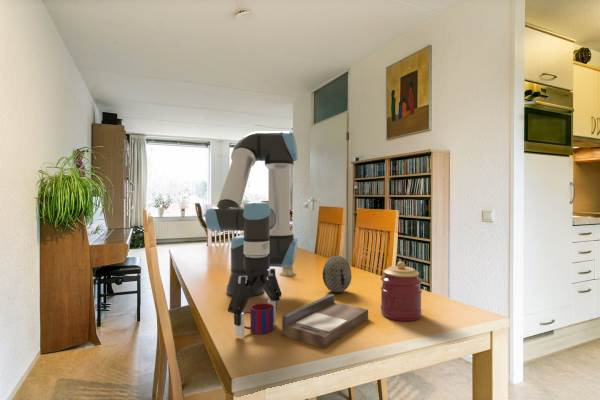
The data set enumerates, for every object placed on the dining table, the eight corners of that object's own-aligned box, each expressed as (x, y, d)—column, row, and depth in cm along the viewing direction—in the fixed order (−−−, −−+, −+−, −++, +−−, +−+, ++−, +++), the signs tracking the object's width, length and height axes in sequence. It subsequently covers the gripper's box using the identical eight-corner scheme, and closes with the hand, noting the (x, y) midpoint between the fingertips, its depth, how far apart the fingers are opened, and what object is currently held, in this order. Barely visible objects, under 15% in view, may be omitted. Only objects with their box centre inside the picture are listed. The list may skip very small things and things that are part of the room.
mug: (277, 331, 97) (277, 308, 97) (243, 338, 93) (243, 313, 93) (268, 323, 103) (268, 301, 103) (236, 329, 99) (236, 306, 99)
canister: (398, 324, 103) (398, 267, 103) (372, 311, 115) (372, 259, 115) (430, 318, 108) (431, 263, 108) (403, 306, 120) (403, 256, 120)
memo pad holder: (282, 335, 95) (282, 315, 95) (330, 309, 116) (330, 293, 116) (324, 348, 87) (324, 327, 87) (368, 318, 108) (368, 301, 108)
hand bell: (276, 273, 170) (277, 241, 170) (292, 271, 173) (292, 240, 173) (283, 277, 162) (283, 243, 162) (298, 275, 166) (298, 242, 166)
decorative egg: (356, 294, 133) (356, 257, 133) (328, 297, 130) (328, 258, 130) (344, 287, 145) (344, 252, 144) (318, 289, 141) (318, 253, 141)
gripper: (233, 263, 86) (233, 347, 86) (292, 250, 105) (292, 318, 106) (214, 260, 90) (214, 339, 90) (274, 248, 110) (274, 313, 110)
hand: (256, 328), depth 98 cm, fingers open, 12 cm apart
